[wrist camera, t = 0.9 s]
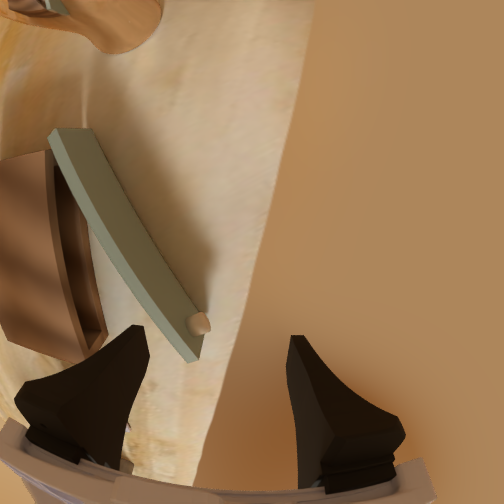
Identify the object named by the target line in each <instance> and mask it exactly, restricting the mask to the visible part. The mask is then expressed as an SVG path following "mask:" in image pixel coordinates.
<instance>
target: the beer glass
mask: <svg viewBox="0 0 504 504" xmlns="http://www.w3.org/2000/svg"><path fill="white" fill-rule="evenodd" d="M0 16H2V17H4V18H7V19H10V20H13V21H16V22H20V23H23V24H27V25H32V26H37V27H42V28H48V29H55V30H61V31H67V32H72V33H77V34H80V35H82V36H85V37H86V38H88V39H89V40H90V41H91V42H92V44H93V45H94V46H95V47H96V48H97V49H98V50H100V51H101V52H103V53H106V54H121V53H125V52H128V51H130V50H132V49H134V48H136V47H138V46H139V45H141V44H142V43H143V42H145V41H146V40H147V39H148V38H149V37H150V36H151V35H152V34H153V32H154V31H155V30H156V28H157V26H158V24H159V22H160V19H161V7H160V4H159V3H158V1H157V0H0Z"/></svg>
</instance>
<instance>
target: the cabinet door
mask: <svg viewBox="0 0 504 504" xmlns="http://www.w3.org/2000/svg"><path fill="white" fill-rule="evenodd" d="M47 139H48V141H49V144H50V146H51V149H52V151H53V153H54V156H55V158H56V160H57V162H58V165H59V167H60V169H61V171H62V173H63V175H64V177H65V179H66V182H67V184H68V186H69V188H70V190H71V192H72V194H73V196H74V197H75V199H76V201H77V203H78V205H79V207H80V209H81V211H82V212H83V214H84V216H85V218H86V220H87V222H88V223H89V225H90V227H91V229H92V230H93V232H94V234H95V235H96V237H97V239H98V240H99V242H100V244H101V245H102V247H103V249H104V250H105V252H106V254H107V255H108V257H109V258H110V260H111V262H112V263H113V265H114V266H115V268H116V269H117V271H118V272H119V274H120V275H121V277H122V278H123V280H124V281H125V283H126V284H127V286H128V287H129V289H130V290H131V291H132V293H133V294H134V296H135V297H136V299H137V300H138V301H139V303H140V304H141V305H142V307H143V308H144V310H145V311H146V312H147V314H148V315H149V316H150V318H151V319H152V320H153V322H154V323H155V324H156V325H157V327H158V328H159V329H160V331H161V332H162V333H163V334H164V336H165V337H166V338H167V339H168V341H169V342H170V343H171V344H172V346H173V347H174V348H175V349H176V350H177V352H178V353H179V354H180V355H181V356H182V358H183V359H184V360H185V361H186V362H187V363H191V362H194V361H197V360H199V357H200V352H201V348H202V343H203V339H204V334H205V333H207V332H209V331H210V329H211V326H210V322H209V320H208V318H207V316H206V315H205V314H204V313H203V312H198V310H197V309H196V307H195V306H194V304H193V303H192V302H191V300H190V299H189V297H188V296H187V294H186V293H185V291H184V290H183V288H182V287H181V285H180V284H179V282H178V281H177V279H176V278H175V276H174V275H173V273H172V272H171V270H170V268H169V267H168V265H167V264H166V262H165V261H164V259H163V257H162V256H161V254H160V253H159V251H158V250H157V248H156V246H155V245H154V243H153V241H152V240H151V238H150V236H149V235H148V233H147V231H146V230H145V228H144V226H143V225H142V223H141V221H140V220H139V218H138V216H137V214H136V213H135V211H134V209H133V208H132V206H131V204H130V202H129V200H128V199H127V197H126V195H125V193H124V191H123V190H122V188H121V186H120V184H119V182H118V180H117V179H116V177H115V175H114V173H113V171H112V169H111V167H110V165H109V163H108V161H107V159H106V157H105V155H104V153H103V151H102V149H101V147H100V145H99V143H98V141H97V139H96V137H95V135H94V133H93V131H92V129H86V128H54V129H53V130H52V132H51V134H50V135H49V136H48V137H47Z"/></svg>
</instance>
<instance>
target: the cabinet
mask: <svg viewBox="0 0 504 504" xmlns="http://www.w3.org/2000/svg"><path fill="white" fill-rule="evenodd" d="M0 324H1V326H2V329H3V331H4V333H5V336H6V338H7V340H8V341H10V342H13V343H15V344H18V345H20V346H23V347H25V348H28V349H31V350H34V351H36V352H39V353H42V354H45V355H48V356H51V357H54V358H58V359H61V360H64V361H68V362H71V363H75V364H78V363H80V362H82V361H84V360H85V359H87V358H89V357H90V356H92V355H93V354H95V353H96V352H97V351H99V349H100V348H101V346H102V344H103V343H104V341H105V340H106V338H107V337H108V331H107V328H106V324H105V320H104V316H103V312H102V308H101V304H100V299H99V295H98V290H97V285H96V280H95V275H94V269H93V264H92V258H91V251H90V244H89V237H88V229H87V220H86V218H85V216H84V214H83V212H82V211H81V209H80V207H79V205H78V203H77V201H76V199H75V197H74V196H73V194H72V192H71V190H70V188H69V186H68V184H67V182H66V179H65V177H64V175H63V173H62V171H61V169H60V167H59V165H58V162H57V160H56V158H55V156H54V153H53V151H52V149H50V150H43V151H38V152H34V153H29V154H25V155H21V156H17V157H13V158H9V159H5V160H1V161H0Z"/></svg>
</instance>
